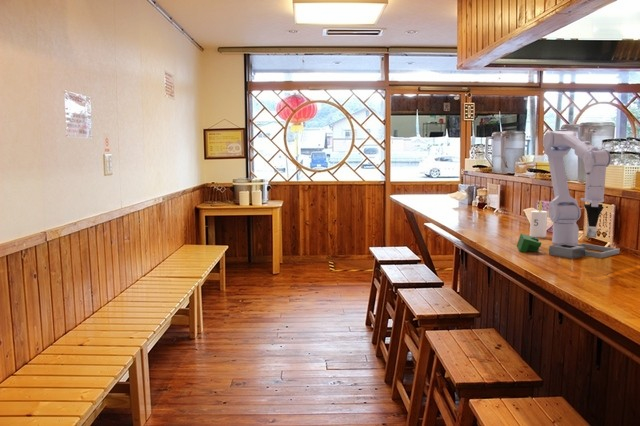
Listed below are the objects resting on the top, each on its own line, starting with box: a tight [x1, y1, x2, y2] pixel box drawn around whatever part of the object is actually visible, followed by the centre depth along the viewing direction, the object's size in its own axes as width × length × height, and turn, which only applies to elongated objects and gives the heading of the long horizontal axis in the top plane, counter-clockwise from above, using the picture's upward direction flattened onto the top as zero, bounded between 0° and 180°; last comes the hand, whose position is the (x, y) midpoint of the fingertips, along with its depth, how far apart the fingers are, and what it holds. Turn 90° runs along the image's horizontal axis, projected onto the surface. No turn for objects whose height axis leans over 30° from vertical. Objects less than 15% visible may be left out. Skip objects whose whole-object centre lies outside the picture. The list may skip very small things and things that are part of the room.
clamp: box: [516, 233, 542, 253], centre depth 176 cm, size 12×6×9 cm, turn 157°
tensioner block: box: [548, 243, 586, 260], centre depth 166 cm, size 8×8×4 cm
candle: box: [529, 200, 549, 238], centre depth 207 cm, size 6×6×15 cm
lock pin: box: [585, 218, 598, 239], centre depth 169 cm, size 3×3×7 cm
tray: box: [577, 242, 620, 259], centre depth 171 cm, size 13×13×2 cm
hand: (592, 225), depth 169 cm, fingers closed on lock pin, 3 cm apart
